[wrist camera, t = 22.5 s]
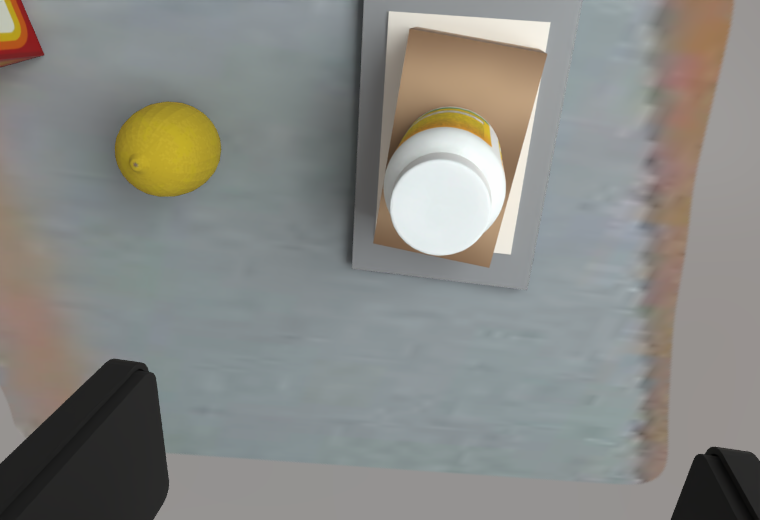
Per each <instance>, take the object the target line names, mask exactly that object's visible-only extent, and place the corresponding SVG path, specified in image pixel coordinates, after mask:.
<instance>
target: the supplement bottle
mask: <svg viewBox="0 0 760 520" xmlns="http://www.w3.org/2000/svg"><path fill="white" fill-rule="evenodd" d="M505 194H506V179H505V172H504V166H503V161H502V154H501V148H500V144H499V140H498V138H497V136H496V134H495V132H494V130H493V128H492V127H491V126H490V124H489V123H488V122H487V121H486V120H485V119H484V118H482V117H481V116H480V115H478V114H476V113H475V112H472V111H470V110H467V109H464V108H460V107H441V108H437V109H434V110H431V111H429V112H427V113H425V114H423V115H422V116H421V117H419V118H418V119H417V120H416V121H415V122H414V123H413V124H412V125H411V127H410V128H409V129H408V131H407V132H406V134H405V135H404V137H403V139H402V141H401V142H400V144H399V146H398V147H397V149H396V151H395V152H394V154H393V156H392V157H391V159H390V161H389V164H388V166H387V169H386V172H385V176H384V198H385V202H386V206H387V208H388V211H389V213H390V216H391V220H392V223H393V226H394V228H395V230H396V231H397V233H398V235H399V236H400V237H401V238H402V239H403V240H404V241H405V242H406V243H407V244H408V245H410V246H411V247H412V248H414V249H416V250H418V251H420V252H423V253H426V254H430V255H437V256H443V255H451V254H455V253H458V252H461V251H463V250H465V249H467V248H469V247H470V246H471V245H473V244H474V243H475V242H476V241H477V240H478V239H479V238H480V237H481V236H482V234H483V233H484V232H485V231H486V230H487V229H488V228H489V227H490V226H491V225H492V224H493V223H494V221H495V220H496V218H497V217H498V215H499V213H500V211H501V209H502V206H503V203H504V199H505Z"/></svg>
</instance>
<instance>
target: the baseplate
mask: <svg viewBox="0 0 760 520" xmlns="http://www.w3.org/2000/svg"><path fill="white" fill-rule="evenodd" d="M582 1H583V0H364V10H363V32H362V54H361V77H360V99H359V121H358V143H357V166H356V188H355V210H354V233H353V255H352V269H358V270H366V271H374V272H382V273H391V274H399V275H407V276H415V277H424V278H432V279H440V280H448V281H457V282H465V283H473V284H481V285H490V286H498V287H506V288H514V289H522V290H527V289H528V284H529V279H530V273H531V268H532V263H533V258H534V252H535V247H536V242H537V237H538V231H539V226H540V221H541V216H542V210H543V205H544V200H545V195H546V189H547V184H548V179H549V174H550V169H551V163H552V158H553V153H554V148H555V142H556V137H557V132H558V127H559V121H560V116H561V111H562V106H563V100H564V95H565V90H566V85H567V79H568V74H569V69H570V64H571V59H572V53H573V48H574V43H575V38H576V32H577V27H578V22H579V17H580V11H581V6H582ZM414 27H422V28H427V29H433V30H438V31H444V32H449V33H455V34H460V35H466V36H471V37H477V38H482V39H488V40H493V41H499V42H504V43H510V44H515V45H521V46H526V47H532V48H537V49H540V50H542V51H544V52H545V53H547V58H546V61H545V65H544V69H543V73H542V76H541V80H540V84H539V87H538V91H537V95H536V98H535V102H534V106H533V109H532V113H531V117H530V120H529V124H528V128H527V131H526V135H525V139H524V142H523V146H522V150H521V153H520V157H519V161H518V164H517V168H516V172H515V175H514V179H513V183H512V186H511V190H510V194H509V198H508V201H507V205H506V209H505V212H504V216H503V220H502V223H501V227H500V231H499V234H498V238H497V242H496V245H495V249H494V253H493V256H492V260H491V264H490V267H489V268H487V267H482V266H477V265H473V264H468V263H463V262H458V261H454V260H449V259H444V258H439V257H435V256H430V255H425V254H420V253H416V252H411V251H406V250H401V249H397V248H392V247H387V246H382V245H378V244H373V241H374V235H375V229H376V223H377V217H378V211H379V205H380V199H381V194H382V188H383V182H384V176H385V170H386V164H387V158H388V152H389V147H390V141H391V135H392V129H393V123H394V117H395V111H396V105H397V100H398V94H399V88H400V82H401V76H402V70H403V64H404V58H405V53H406V47H407V41H408V35H409V29H410V28H414Z"/></svg>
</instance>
